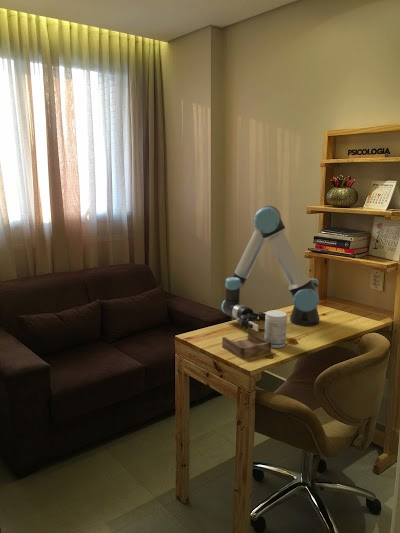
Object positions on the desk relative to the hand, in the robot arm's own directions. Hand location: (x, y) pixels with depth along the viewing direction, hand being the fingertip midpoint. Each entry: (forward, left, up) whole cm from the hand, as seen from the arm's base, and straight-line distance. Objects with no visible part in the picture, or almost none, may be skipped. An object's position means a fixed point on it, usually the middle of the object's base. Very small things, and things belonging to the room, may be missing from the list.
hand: (270, 326), depth 204 cm
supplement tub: (-1, +3, -8) cm, 9 cm away
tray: (+14, +2, -8) cm, 16 cm away
